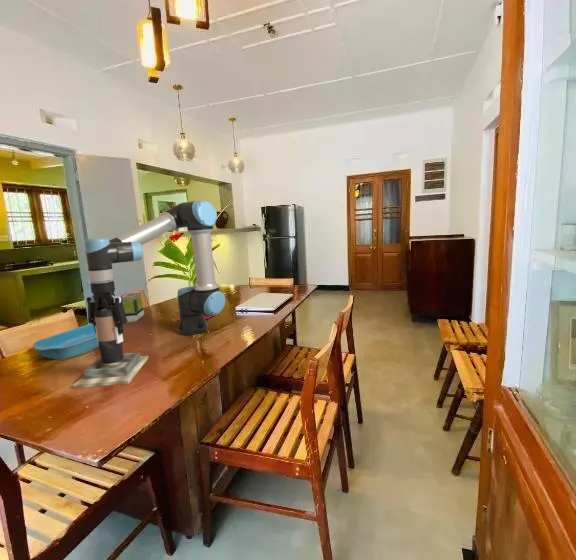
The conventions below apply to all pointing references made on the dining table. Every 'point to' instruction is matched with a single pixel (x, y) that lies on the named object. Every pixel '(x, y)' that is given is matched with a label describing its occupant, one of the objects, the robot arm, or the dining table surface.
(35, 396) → the dining table surface
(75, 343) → the casserole dish
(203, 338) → the dining table surface
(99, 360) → the docking board
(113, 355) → the travel mug
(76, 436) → the dining table surface
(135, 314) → the tea box
